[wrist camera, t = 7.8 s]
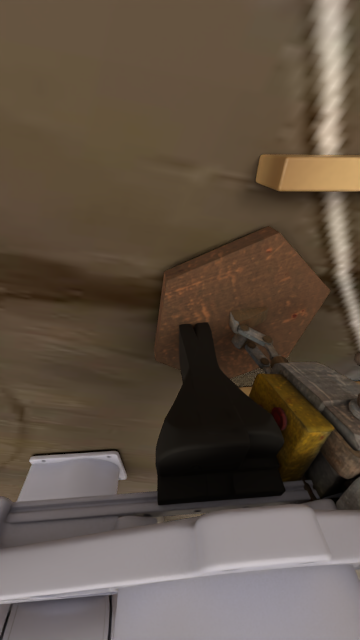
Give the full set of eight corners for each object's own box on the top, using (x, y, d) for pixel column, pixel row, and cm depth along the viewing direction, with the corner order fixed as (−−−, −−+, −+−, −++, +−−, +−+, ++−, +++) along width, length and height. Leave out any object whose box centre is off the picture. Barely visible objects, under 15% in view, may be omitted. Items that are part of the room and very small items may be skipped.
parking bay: (215, 394, 20) (221, 422, 18) (259, 154, 9) (286, 156, 7) (371, 386, 20) (393, 412, 18) (577, 157, 10) (680, 159, 8)
